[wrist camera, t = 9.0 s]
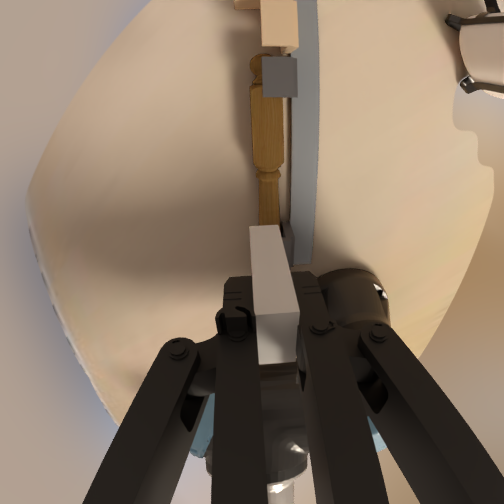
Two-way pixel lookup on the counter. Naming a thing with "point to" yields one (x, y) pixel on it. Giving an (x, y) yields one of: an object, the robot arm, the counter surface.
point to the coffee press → (482, 49)
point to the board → (295, 107)
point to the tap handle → (266, 144)
